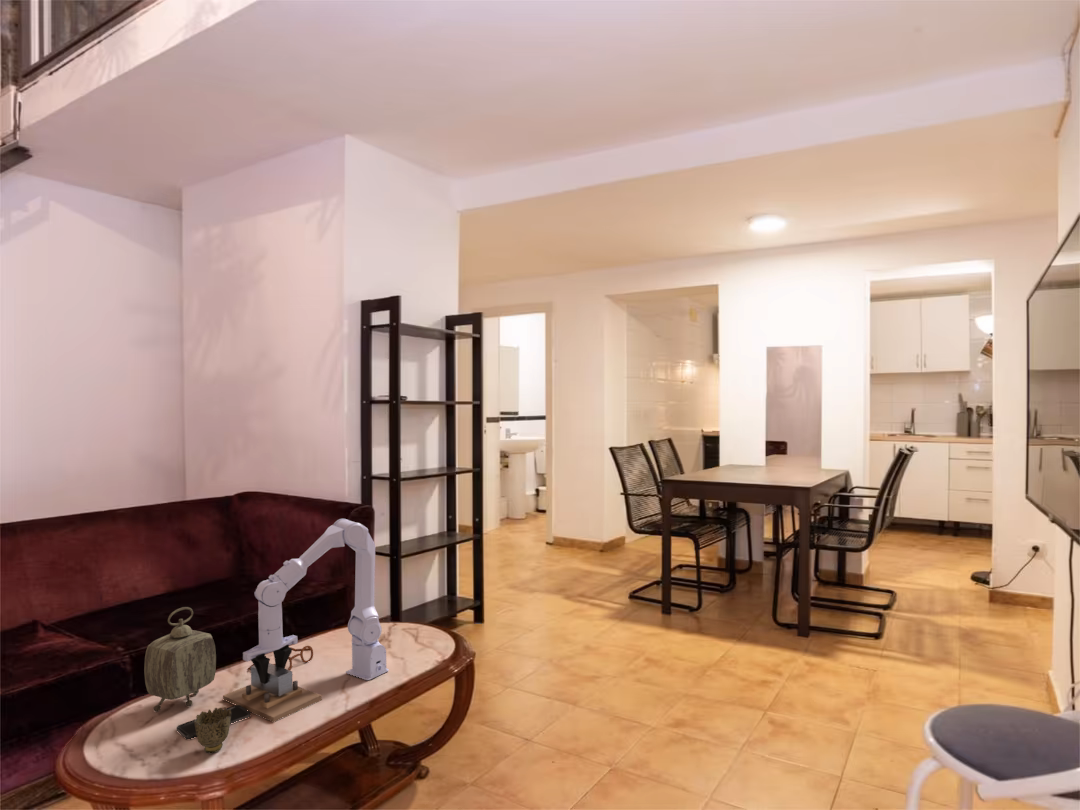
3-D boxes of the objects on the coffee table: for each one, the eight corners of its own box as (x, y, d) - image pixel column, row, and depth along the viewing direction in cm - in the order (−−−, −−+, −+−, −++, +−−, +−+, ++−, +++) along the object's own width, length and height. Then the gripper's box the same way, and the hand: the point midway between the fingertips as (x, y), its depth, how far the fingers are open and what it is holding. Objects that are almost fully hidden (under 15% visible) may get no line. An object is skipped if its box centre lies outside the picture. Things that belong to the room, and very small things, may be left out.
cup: (203, 742, 152) (202, 707, 152) (236, 740, 153) (236, 706, 153) (189, 760, 145) (188, 723, 144) (224, 758, 145) (223, 721, 145)
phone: (174, 726, 158) (238, 704, 169) (175, 731, 158) (238, 708, 169) (187, 737, 153) (252, 713, 164) (187, 742, 153) (252, 718, 164)
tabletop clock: (197, 690, 179) (195, 598, 179) (220, 696, 176) (218, 602, 175) (145, 713, 166) (142, 614, 166) (168, 721, 163) (166, 619, 162)
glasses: (280, 677, 188) (280, 660, 188) (247, 670, 193) (246, 653, 193) (314, 660, 200) (314, 643, 200) (281, 654, 205) (281, 638, 205)
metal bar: (292, 690, 171) (292, 671, 171) (278, 696, 168) (278, 676, 168) (265, 679, 178) (264, 661, 178) (251, 685, 175) (250, 666, 175)
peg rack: (321, 699, 173) (321, 683, 172) (273, 722, 161) (273, 705, 161) (271, 680, 185) (270, 665, 185) (223, 700, 173) (222, 684, 173)
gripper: (285, 616, 181) (286, 666, 181) (235, 632, 169) (236, 686, 169) (301, 621, 177) (303, 672, 177) (251, 638, 165) (253, 692, 165)
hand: (271, 679), depth 173 cm, fingers closed on metal bar, 4 cm apart
